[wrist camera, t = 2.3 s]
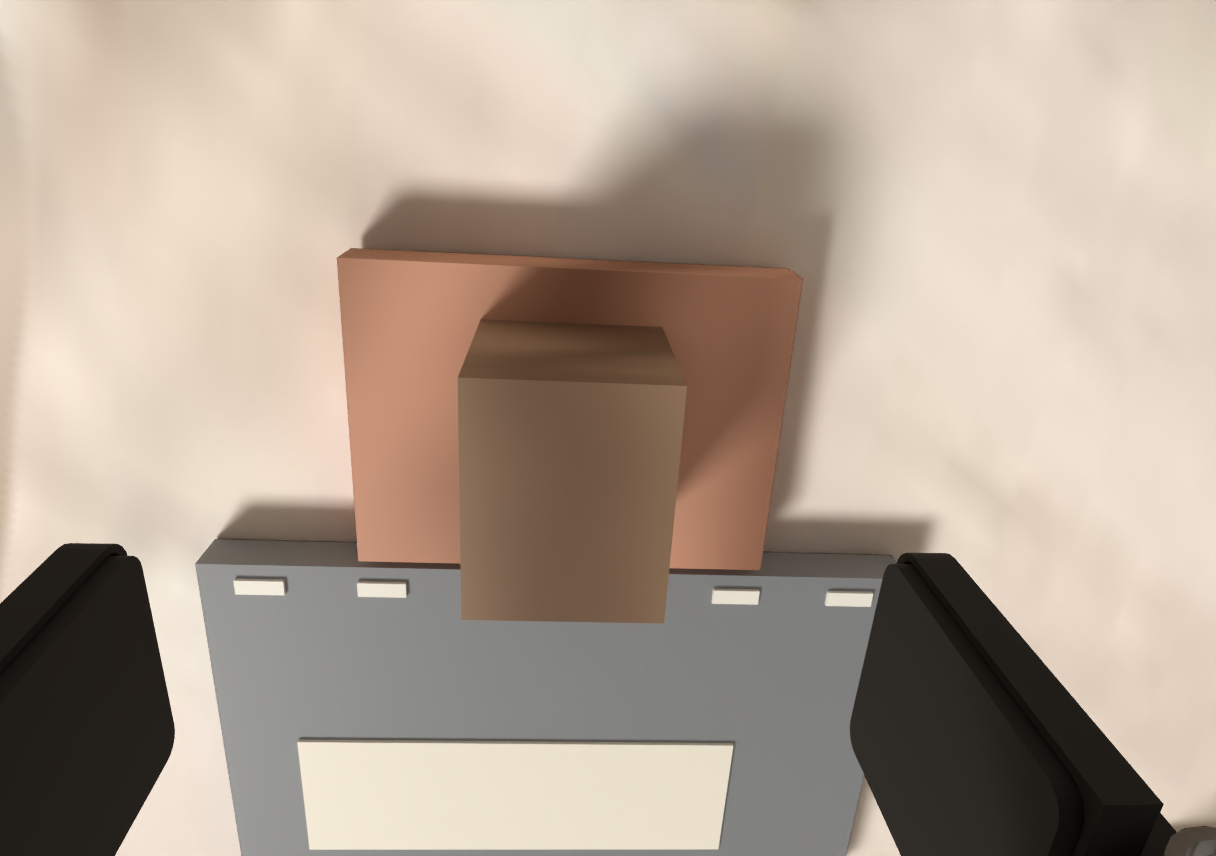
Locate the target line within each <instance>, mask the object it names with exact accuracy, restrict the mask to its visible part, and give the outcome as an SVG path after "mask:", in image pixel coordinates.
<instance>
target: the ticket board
mask: <svg viewBox="0 0 1216 856" xmlns="http://www.w3.org/2000/svg"><path fill="white" fill-rule="evenodd" d="M890 564H897V562H896V561H895V560H894V558H893V557H892V555H859V554H817V553H775V552H763V555H762V561H761V568H760V570H727V569H682V568H669V578H668V589H667V599H666V609H665V619H664V624H661V623H605V622H549V621H493V620H461V566H460V564H458V563H414V562H369V561H358V550H357V543H354V542H312V541H270V540H228V539H215V540H214V541H213V542H212V544H211V545H210V546H209V547H208V549H207V550H206V551H205V552H204V554H203V555H202V556H201V557H200V559H199V560H198V561H197V562H196V564H195V565H196V572H197V578H198V584H199V590H200V597H201V603H202V609H203V616H204V622H205V628H206V635H207V641H208V647H209V654H210V660H211V666H212V673H213V679H214V685H215V692H216V698H217V704H218V711H219V717H220V723H221V729H222V736H223V742H224V748H225V755H226V761H227V767H228V774H229V780H230V786H231V793H232V799H233V805H234V812H235V818H236V824H237V831H238V837H239V843H240V849H241V856H846V852H847V848H848V843H849V839H850V834H851V830H852V826H853V821H854V817H855V812H856V808H857V804H858V799H859V795H860V790H861V786H862V782H863V777H864V773H863V771H862V769H861V767H860V764H859V762H858V760H857V758H856V756H855V753H854V751H853V748H852V744H851V739H850V720H851V715H852V711H853V707H854V702H855V698H856V693H857V689H858V685H859V680H860V676H861V671H862V667H863V663H864V658H865V654H866V649H867V645H868V641H869V636H870V632H871V627H872V623H873V619H874V614H875V610H876V605H877V601H878V597H879V592H880V588H881V583H882V579H883V575H884V572H885V569H886V567H887V566H888V565H890Z"/></svg>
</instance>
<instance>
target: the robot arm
mask: <svg viewBox="0 0 1216 856" xmlns="http://www.w3.org/2000/svg"><path fill="white" fill-rule="evenodd" d="M174 735H175V729H174V722H173V717H172V712H171V707H170V702H169V697H168V692H167V687H166V682H165V677H164V672H163V667H162V662H161V658H160V653H159V648H158V643H157V638H156V633H155V628H154V623H153V618H152V613H151V608H150V603H149V599H148V594H147V589H146V584H145V579H144V574H143V569H142V566H141V562H140V561H139V559H138V558H137V557H135V556H127V553H126V551H125V550H124V548H123V547H122V546H120V545H118V544H84V543H70V544H64V545H62V546H61V547H59V548H58V549H57V550H56V551H55V552H54V553H53V554H52V555H50V556H49V557H48V558H47V559H46V560H45V561H44V562H43V563H42V564H41V565H40V566H39V567H38V568H37V569H36V570H35V571H34V572H33V573H32V574H31V575H30V576H29V577H28V578H27V579H26V580H24V581H23V582H22V583H21V584H20V585H19V586H18V587H17V588H16V589H15V590H14V591H13V592H12V593H11V594H10V595H9V596H8V597H7V598H6V599H5V600H4V601H3V602H2V603H1V604H0V856H115V854H116V852H117V851H118V849H119V847H120V845H121V843H122V842H123V840H124V838H125V836H126V834H127V833H128V831H129V829H130V827H131V825H132V824H133V822H134V820H135V818H136V817H137V815H138V813H139V811H140V809H141V808H142V806H143V804H144V802H145V800H146V799H147V797H148V795H149V793H150V791H151V790H152V788H153V786H154V784H155V782H156V781H157V779H158V777H159V775H160V773H161V772H162V770H163V768H164V766H165V764H166V763H167V761H168V759H169V756H170V754H171V751H172V748H173V743H174ZM850 739H851V744H852V748H853V751H854V753H855V756H856V758H857V760H858V762H859V764H860V767H861V769H862V771H863V773H864V775H865V778H866V780H867V782H868V784H869V786H870V789H871V791H872V793H873V795H874V797H875V800H876V802H877V804H878V806H879V808H880V810H881V813H882V815H883V817H884V819H885V821H886V824H887V826H888V828H889V830H890V832H891V835H892V837H893V839H894V841H895V843H896V846H897V848H898V850H899V852H900V854H901V856H1216V828H1214V827H1207V826H1200V827H1190V828H1184V829H1182V830H1181V831H1179V832H1176V831H1175V830H1174V829H1173V827H1172V826H1171V825H1170V824H1169V823H1168V821H1167V820H1166V819H1165V818H1164V817H1163V815H1162V814H1161V813H1160V811H1161V809H1162V807H1163V805H1164V804H1163V803H1162V802H1161V801H1160V799H1159V798H1158V797H1157V796H1156V795H1155V794H1154V792H1153V791H1152V790H1151V789H1150V788H1149V787H1148V785H1147V784H1146V783H1145V782H1144V781H1143V779H1142V778H1141V777H1140V776H1139V775H1138V774H1137V772H1136V771H1135V770H1134V769H1133V768H1132V766H1131V765H1130V764H1129V763H1128V762H1127V761H1126V759H1125V758H1124V757H1123V756H1122V755H1121V754H1120V752H1119V751H1118V750H1117V749H1116V748H1115V746H1114V745H1113V744H1112V743H1111V742H1110V741H1109V739H1108V738H1107V737H1106V736H1105V735H1104V734H1103V732H1102V731H1101V730H1100V729H1099V728H1098V726H1097V725H1096V724H1095V723H1094V722H1093V721H1092V719H1091V718H1090V717H1089V716H1088V715H1087V713H1086V712H1085V711H1084V710H1083V709H1082V708H1081V706H1080V705H1079V704H1078V703H1077V702H1076V701H1075V699H1074V698H1073V697H1072V696H1071V695H1070V693H1069V692H1068V691H1067V690H1066V689H1065V688H1064V686H1063V685H1062V684H1061V683H1060V682H1059V681H1058V679H1057V678H1056V677H1055V676H1054V675H1053V673H1052V672H1051V671H1050V670H1049V669H1048V668H1047V666H1046V665H1045V664H1044V663H1043V662H1042V660H1041V659H1040V658H1039V657H1038V656H1037V655H1036V653H1035V652H1034V651H1033V650H1032V649H1031V648H1030V646H1029V645H1028V644H1027V643H1026V642H1025V640H1024V639H1023V638H1022V637H1021V636H1020V635H1019V633H1018V632H1017V631H1016V630H1015V629H1014V628H1013V626H1012V625H1011V624H1010V623H1009V622H1008V620H1007V619H1006V618H1005V617H1004V616H1003V615H1002V613H1001V612H1000V611H999V610H998V609H997V607H996V606H995V605H994V604H993V603H992V602H991V600H990V599H989V598H988V597H987V596H986V595H985V593H984V592H983V591H982V590H981V589H980V587H979V586H978V585H977V584H976V583H975V582H974V580H973V579H972V578H971V577H970V576H969V575H968V573H967V572H966V571H965V570H964V569H963V567H962V566H961V565H960V564H959V563H958V562H957V560H956V559H955V558H954V557H953V556H951V555H950V554H946V553H905V554H903V555H901V556H900V558H899V559H898V561H897V564H890V565H888V566H887V567H886V569H885V572H884V575H883V579H882V583H881V588H880V592H879V597H878V601H877V605H876V610H875V614H874V619H873V623H872V627H871V632H870V636H869V641H868V645H867V649H866V654H865V658H864V663H863V667H862V671H861V676H860V680H859V685H858V689H857V693H856V698H855V702H854V707H853V711H852V715H851V720H850Z"/></svg>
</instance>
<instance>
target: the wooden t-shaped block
mask: <svg viewBox="0 0 1216 856" xmlns="http://www.w3.org/2000/svg"><path fill="white" fill-rule="evenodd" d="M337 266H338V280H339V294H340V309H341V323H342V337H343V351H344V365H345V380H346V394H347V408H348V422H349V436H350V451H351V465H352V479H353V493H354V507H355V522H356V536H357V550H358V561H369V562H414V563H458V564H460V566H461V620H493V621H549V622H605V623H661V624H664V619H665V609H666V599H667V589H668V578H669V568H682V569H727V570H760V568H761V561H762V555H763V548H764V541H765V534H766V527H767V521H768V514H769V507H770V500H771V493H772V486H773V480H774V473H775V466H776V459H777V452H778V445H779V439H780V432H781V425H782V418H783V411H784V404H785V398H786V391H787V384H788V377H789V370H790V364H791V357H792V350H793V343H794V336H795V329H796V323H797V316H798V309H799V302H800V295H801V288H802V282H803V279H802V278H800V277H799V276H798V275H796V274H795V273H794V272H792V271H791V270H790V269H783V268H762V267H741V266H719V265H698V264H677V263H655V262H634V261H613V260H592V259H570V258H549V257H528V256H507V255H485V254H464V253H443V252H422V251H400V250H379V249H358V248H351V249H349V250H348V251H346V252H345V253H343V254H342V255H340V256H339V257H337Z"/></svg>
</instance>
